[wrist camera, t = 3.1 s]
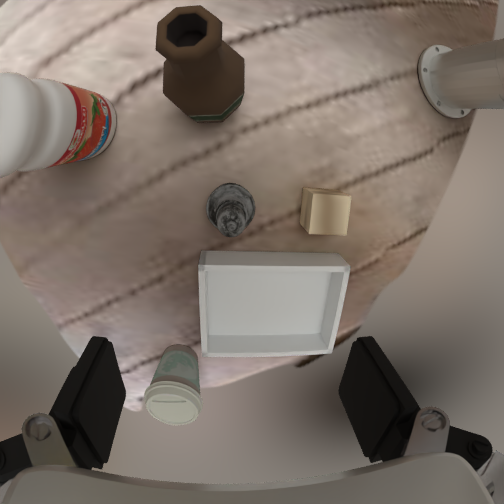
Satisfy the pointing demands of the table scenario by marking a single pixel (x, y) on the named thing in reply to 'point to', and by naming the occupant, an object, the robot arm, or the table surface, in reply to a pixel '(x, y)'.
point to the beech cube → (325, 211)
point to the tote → (270, 302)
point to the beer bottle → (199, 65)
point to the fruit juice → (50, 123)
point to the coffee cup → (175, 387)
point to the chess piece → (230, 209)
